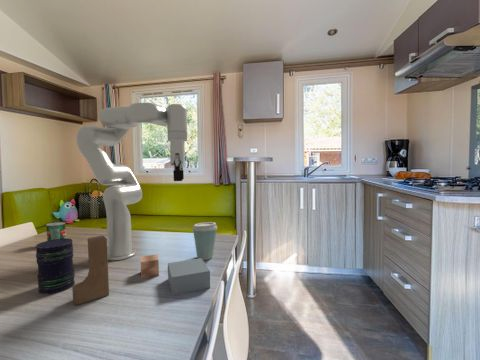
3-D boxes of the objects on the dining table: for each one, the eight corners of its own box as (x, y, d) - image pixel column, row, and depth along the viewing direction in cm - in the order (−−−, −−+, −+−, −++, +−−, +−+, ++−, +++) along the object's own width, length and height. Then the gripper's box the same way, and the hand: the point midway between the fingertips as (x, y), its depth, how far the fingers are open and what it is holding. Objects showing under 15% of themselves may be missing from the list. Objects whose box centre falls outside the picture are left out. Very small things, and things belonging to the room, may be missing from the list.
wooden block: (74, 306, 71) (71, 244, 70) (72, 299, 74) (69, 240, 73) (109, 295, 77) (106, 238, 76) (106, 289, 80) (103, 235, 79)
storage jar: (45, 297, 76) (43, 249, 75) (32, 289, 81) (30, 244, 80) (80, 284, 84) (78, 241, 83) (67, 277, 89) (64, 236, 88)
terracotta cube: (141, 278, 88) (140, 262, 88) (141, 272, 94) (140, 256, 93) (158, 275, 90) (158, 259, 90) (158, 269, 96) (157, 254, 95)
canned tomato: (69, 243, 129) (68, 222, 128) (51, 248, 122) (50, 226, 121) (62, 241, 133) (61, 221, 132) (44, 245, 126) (43, 224, 126)
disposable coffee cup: (187, 259, 105) (186, 224, 105) (202, 251, 115) (202, 219, 114) (208, 263, 101) (207, 227, 100) (222, 255, 110) (221, 221, 109)
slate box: (172, 296, 76) (171, 277, 76) (168, 279, 87) (167, 263, 87) (210, 288, 81) (209, 270, 80) (201, 273, 92) (201, 258, 91)
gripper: (169, 139, 106) (171, 179, 107) (165, 134, 89) (166, 182, 90) (187, 139, 107) (189, 179, 108) (186, 134, 90) (187, 181, 91)
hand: (178, 180), depth 99 cm, fingers open, 9 cm apart
